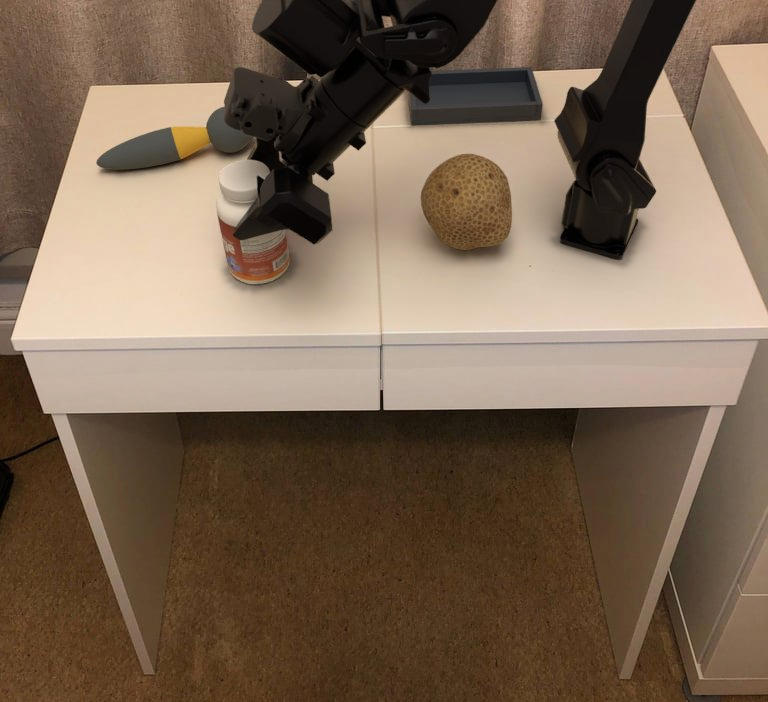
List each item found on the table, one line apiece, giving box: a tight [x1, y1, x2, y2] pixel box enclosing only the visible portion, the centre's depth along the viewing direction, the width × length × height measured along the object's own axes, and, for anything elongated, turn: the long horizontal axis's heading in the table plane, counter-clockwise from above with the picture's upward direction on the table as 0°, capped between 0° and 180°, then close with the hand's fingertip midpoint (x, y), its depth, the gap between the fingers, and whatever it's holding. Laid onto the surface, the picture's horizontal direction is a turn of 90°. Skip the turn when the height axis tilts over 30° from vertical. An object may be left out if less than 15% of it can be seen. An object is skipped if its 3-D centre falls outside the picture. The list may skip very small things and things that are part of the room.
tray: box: [406, 66, 544, 126], centre depth 105 cm, size 15×8×2 cm, turn 92°
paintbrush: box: [95, 106, 255, 170], centre depth 97 cm, size 20×5×5 cm, turn 111°
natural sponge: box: [420, 153, 513, 251], centre depth 85 cm, size 9×9×10 cm
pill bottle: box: [215, 159, 290, 285], centre depth 83 cm, size 6×6×11 cm
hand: (236, 214), depth 82 cm, fingers closed on pill bottle, 6 cm apart
